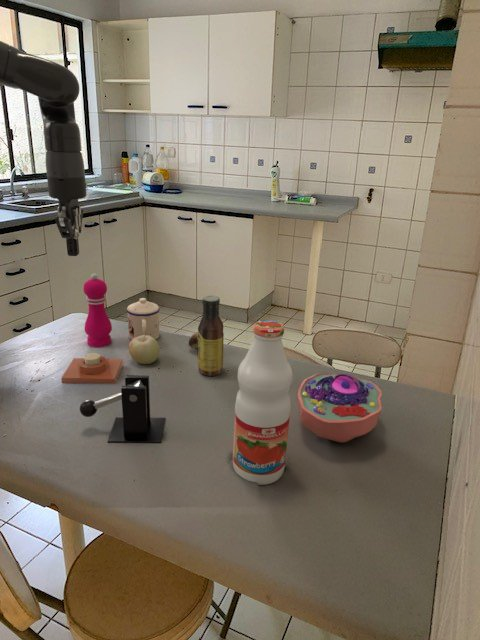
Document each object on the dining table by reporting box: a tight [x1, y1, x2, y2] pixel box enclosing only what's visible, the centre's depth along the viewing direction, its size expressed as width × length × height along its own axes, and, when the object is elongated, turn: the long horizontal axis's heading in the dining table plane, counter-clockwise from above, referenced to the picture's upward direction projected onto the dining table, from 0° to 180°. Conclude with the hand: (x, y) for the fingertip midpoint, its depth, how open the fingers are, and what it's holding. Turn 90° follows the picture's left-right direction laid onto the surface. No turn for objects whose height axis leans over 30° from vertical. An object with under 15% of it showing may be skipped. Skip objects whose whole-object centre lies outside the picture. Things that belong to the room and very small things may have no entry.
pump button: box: [83, 352, 101, 366], centre depth 110 cm, size 4×4×2 cm
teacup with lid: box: [126, 297, 160, 341], centre depth 130 cm, size 12×9×12 cm
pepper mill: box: [82, 272, 113, 348], centre depth 125 cm, size 7×7×20 cm
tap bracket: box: [107, 374, 166, 444], centre depth 89 cm, size 10×8×12 cm
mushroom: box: [188, 331, 198, 350], centre depth 126 cm, size 8×8×6 cm
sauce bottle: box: [197, 294, 225, 377], centre depth 112 cm, size 7×6×20 cm
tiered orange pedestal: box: [60, 355, 124, 385], centre depth 111 cm, size 12×10×4 cm
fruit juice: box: [232, 319, 294, 486], centre depth 78 cm, size 9×9×28 cm
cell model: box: [296, 372, 383, 444], centre depth 93 cm, size 17×20×11 cm
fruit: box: [128, 334, 160, 365], centre depth 118 cm, size 8×7×8 cm
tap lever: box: [79, 380, 144, 418], centre depth 88 cm, size 13×3×3 cm, turn 92°
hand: (73, 255), depth 103 cm, fingers closed
